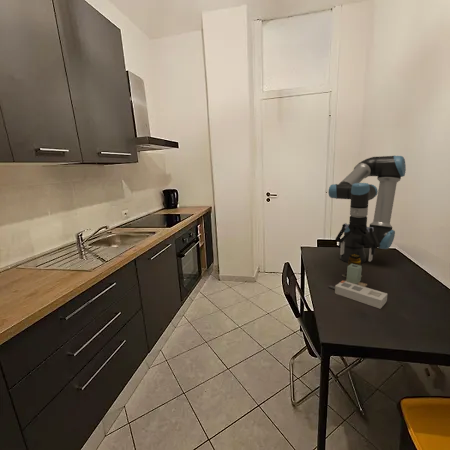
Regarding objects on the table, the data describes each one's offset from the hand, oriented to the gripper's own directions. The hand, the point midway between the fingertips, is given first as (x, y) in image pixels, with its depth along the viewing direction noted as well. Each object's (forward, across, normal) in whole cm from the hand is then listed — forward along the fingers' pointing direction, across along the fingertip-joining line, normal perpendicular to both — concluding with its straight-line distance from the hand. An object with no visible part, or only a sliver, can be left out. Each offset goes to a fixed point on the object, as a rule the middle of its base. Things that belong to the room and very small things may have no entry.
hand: (355, 257), depth 130 cm
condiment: (+16, -5, +10) cm, 19 cm away
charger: (+14, 0, -1) cm, 15 cm away
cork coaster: (+15, 0, -1) cm, 15 cm away
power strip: (+15, +4, -11) cm, 19 cm away
